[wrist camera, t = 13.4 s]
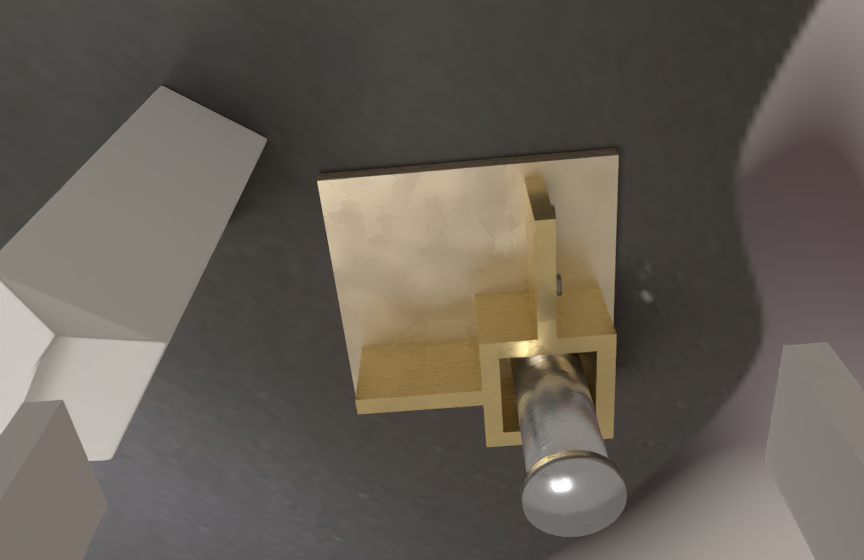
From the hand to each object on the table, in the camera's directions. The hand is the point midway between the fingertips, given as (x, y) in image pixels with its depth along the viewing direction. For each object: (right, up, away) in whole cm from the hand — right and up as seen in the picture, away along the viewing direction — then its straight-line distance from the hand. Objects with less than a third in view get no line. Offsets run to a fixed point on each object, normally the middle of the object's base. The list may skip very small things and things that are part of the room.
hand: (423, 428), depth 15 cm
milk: (-13, +9, +28) cm, 32 cm away
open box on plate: (+3, +2, +32) cm, 32 cm away
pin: (+7, -1, +33) cm, 33 cm away
